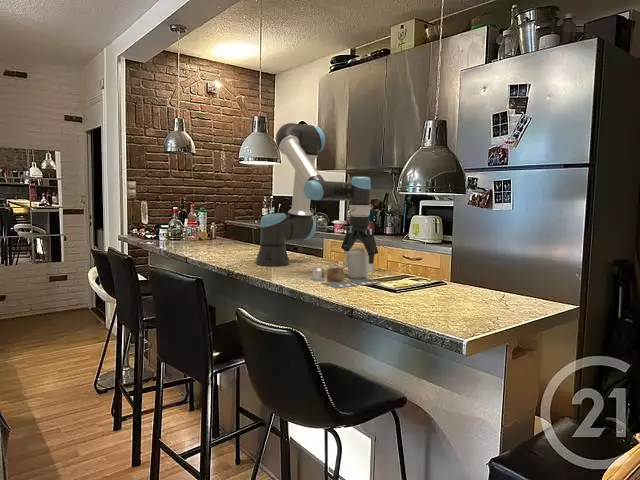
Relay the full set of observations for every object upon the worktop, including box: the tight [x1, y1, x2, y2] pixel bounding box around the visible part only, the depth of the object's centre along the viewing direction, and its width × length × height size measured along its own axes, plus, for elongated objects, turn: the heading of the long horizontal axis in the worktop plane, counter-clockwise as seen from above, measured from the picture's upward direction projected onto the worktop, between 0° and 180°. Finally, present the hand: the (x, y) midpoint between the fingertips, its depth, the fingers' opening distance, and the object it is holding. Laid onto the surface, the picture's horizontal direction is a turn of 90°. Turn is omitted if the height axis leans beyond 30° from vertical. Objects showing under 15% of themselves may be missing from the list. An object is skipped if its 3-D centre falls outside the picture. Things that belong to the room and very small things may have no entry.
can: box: [347, 247, 368, 280], centre depth 188 cm, size 8×8×12 cm
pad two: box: [320, 280, 359, 289], centre depth 174 cm, size 10×10×1 cm
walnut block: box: [326, 266, 345, 282], centre depth 181 cm, size 5×5×5 cm
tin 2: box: [329, 265, 341, 268], centre depth 186 cm, size 4×4×5 cm
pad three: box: [344, 277, 382, 287], centre depth 180 cm, size 10×10×1 cm
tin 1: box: [312, 267, 325, 282], centre depth 181 cm, size 4×4×5 cm
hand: (358, 269), depth 188 cm, fingers open, 13 cm apart
